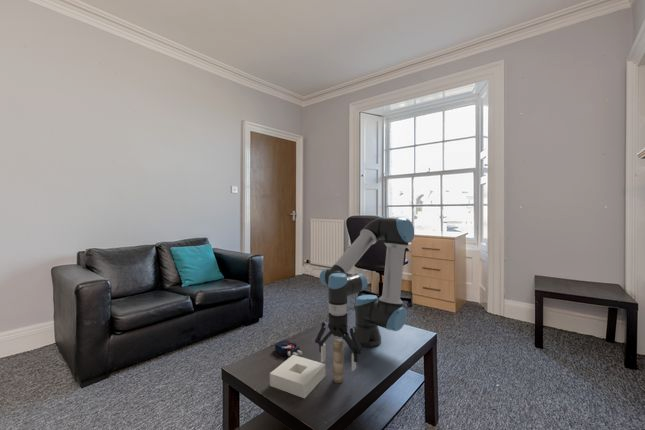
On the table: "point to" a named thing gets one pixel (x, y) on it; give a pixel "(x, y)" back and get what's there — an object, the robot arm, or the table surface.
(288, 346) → the figurine
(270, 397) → the table surface
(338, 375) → the dowel
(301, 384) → the socket block
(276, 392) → the table surface
